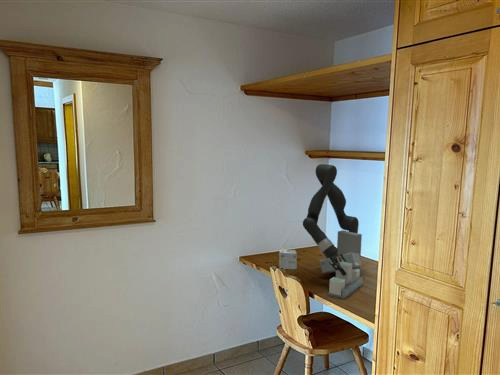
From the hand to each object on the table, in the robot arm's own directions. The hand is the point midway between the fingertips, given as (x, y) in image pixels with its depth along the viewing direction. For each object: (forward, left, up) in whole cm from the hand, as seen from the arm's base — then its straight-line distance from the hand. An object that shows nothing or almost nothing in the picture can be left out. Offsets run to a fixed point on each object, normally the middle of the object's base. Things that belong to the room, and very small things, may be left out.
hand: (347, 273), depth 211 cm
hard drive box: (-15, -20, -4) cm, 25 cm away
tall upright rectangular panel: (-28, -10, -9) cm, 31 cm away
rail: (0, 0, -9) cm, 9 cm away
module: (0, -2, -5) cm, 5 cm away
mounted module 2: (-11, -1, -8) cm, 13 cm away
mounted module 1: (+10, -1, -8) cm, 13 cm away
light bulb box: (-13, -44, -9) cm, 47 cm away
